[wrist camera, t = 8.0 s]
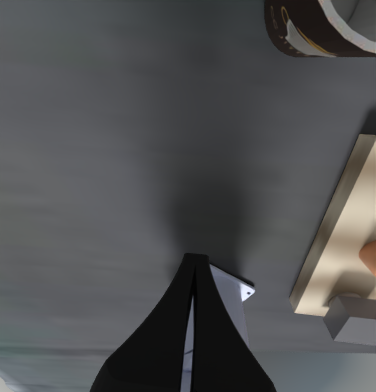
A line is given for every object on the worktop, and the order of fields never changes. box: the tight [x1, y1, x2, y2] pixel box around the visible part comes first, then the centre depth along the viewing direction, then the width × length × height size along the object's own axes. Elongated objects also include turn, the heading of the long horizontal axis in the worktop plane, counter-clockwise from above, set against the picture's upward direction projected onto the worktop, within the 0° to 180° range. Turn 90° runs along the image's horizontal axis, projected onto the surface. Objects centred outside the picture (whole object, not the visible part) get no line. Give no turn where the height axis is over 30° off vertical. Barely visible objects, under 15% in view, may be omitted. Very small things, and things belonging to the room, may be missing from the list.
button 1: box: [323, 296, 376, 346], centre depth 23 cm, size 4×4×2 cm
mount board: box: [289, 134, 376, 316], centre depth 21 cm, size 22×10×3 cm, turn 178°
